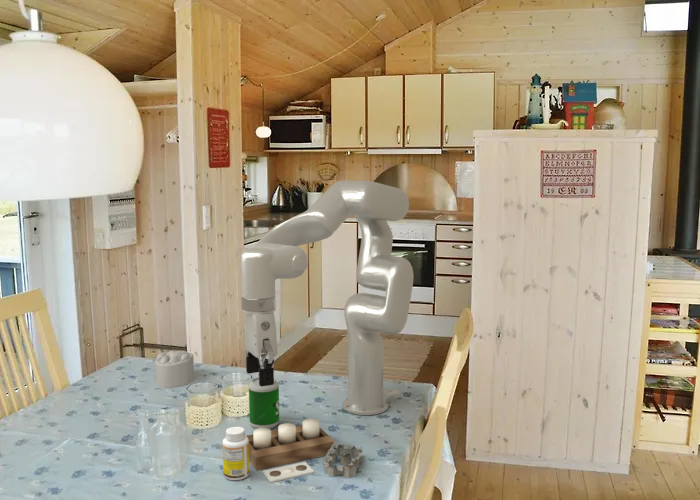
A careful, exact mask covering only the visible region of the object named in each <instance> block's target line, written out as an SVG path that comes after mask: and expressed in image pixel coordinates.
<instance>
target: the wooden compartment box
mask: <svg viewBox="0 0 700 500" xmlns="http://www.w3.org/2000/svg"><path fill="white" fill-rule="evenodd" d="M295 426H296V442H295V443H290V444H285V445H283V444H280V443H279V438H278V429H274V430H271V447H270V448H265V449H260V450H258V449H255V448H254V440H253V433H252V434H248V435H245V436H246V437H247V438H248V440H249V464H250V465H251V466H252V467H253V469H254V470H255V471H261V470H267V469H272V468H276V467H281V466H286V465H288V464H289V465H290V464H295V463H300V462H304V461H308V460H311V459H316V458H321V457H325V456H326V454H327V452H328V450H330V448H331V446H332V444H333V443H334V442H336V441H335V440H334V439H333V438H332V437H331V436H330V435H329V434H328V433H326V432H325V430H323V429H322V427H320V426H319V429H320V437H319V438H315V439H310V440H306V439H304V438H303V427H302V424H300V425H295Z"/></svg>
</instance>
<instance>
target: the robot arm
mask: <svg viewBox="0 0 700 500" xmlns="http://www.w3.org/2000/svg"><path fill="white" fill-rule="evenodd" d="M409 208H410V200H409V197H408V195H407V194H406V192H405V191H404V190H403V189H401V188H398V187H395V186H391V185H389V184H387V185H386V184H383V183H380V182H377V181H372V180H361V179H360V180H359V179H358V180H356V179H354V180H353V179H343V180H338V181H336V182H335V183H333V184H332V185H331V186H330V187H329V188H328V189H326V191H325V192H324V193H322V195H320V197H319V198H318V199H316V201H315V202H313V204H312V205H311V206H310V207H309V208H308V209H307V210H305V211H303V212H302V213H299V214H297V215H295V216H293V217H291V218H289V219H287V220H286V221H282V222H281V223H279V224H278V225H275V226H273V228H271V229H270V230H269V231H268V232H266V234H264V235H263V236H262V237H261V238H260V239H259V240H258V241H257V243H256V244H255V245H254V247H252V248H245V249H244V250H242V251H241V252H240V295H241V296H240V297H241V299H240V301H241V302H240V303H241V312H242V313H244V322H243V323H244V328H243V329H244V330H243V332H244V334H243V337H244V339H243V340H244V346H245V348H246V350H245V356H246V357H245V366H246V367H245V368H246V374H247V375H248V374H254V373H255V374H256V373H258V378H259V385H260V386H261V387H262V386H268V385H273V384H274V379H275V375H274V374H275V373H274V372H275V370H274V368H275V364H274V363H275V359H274V357H276V356H277V355H278V340H277V337H278V336H277V326H276V325H277V324H276V316H275V313H274V312H275V311H276V308H277V307H276V305H277V304H276V280H277V279H279V280H280V279H286V280H287V279H289V280H290V279H296V278H298V277H300V276H301V275H303V274H304V273H305V272H306V270H307V268H308V265H309V258H308V257H309V256H308V255H307V253H306V252H305V251H304V249H302V248H301V247H299V246H302V245H305V244H312V243H316V242H320V241H323V240H326V239H328V238H330V237H331V236H332V235H333V234H334V233H335V232H337V230H338V229H339V228H340V227H341V226H342V224H343V223H345V221H346V220H348V218H349V217H350V216H352V215H353V216H354V217H355V219H356V221H357V223H358V225H359V228H360V231H361V239H360V248H359V255H358V260H357V266H356V272H355V273H356V274H355V275H356V276H355V278H356V282H357V283H358V285H360V286H361V287H363V288H366V289H369V290H375V291H383V292H385V296H384V295H379V294H374V293H373V294H372V293H367V292H365V293H364V292H363V293H362V292H360V293H359V292H358V293H354V294H353V295H351V296H350V297H348V298H347V300H346V301H345V305H344V320H345V325H346V331H347V341H348V342H347V346H348V347H347V351H348V352H347V353H348V354H347V356H348V357H347V376H348V377H347V388H348V389H347V394H348V395H347V398H345V399H344V400H343V401H342V409H343V410H345V412H348V413H350V414H353V415H357V416H358V415H359V416H360V415H361V416H373V415H378V414H383V413H384V412H386V411H387V410H388V409H389V402H388V400H389V399H390V398H397V397H399V394H400V393H399V390H398V389H392V390H390V388H385V389H384V342H383V338H382V336H381V333H382V334H385V335H386V334H387V335H397V334H400V333H401V332H402V331H403V330H404V328H405V326H406V325H407V321H408V317H409V316H408V315H409V310H410V304H411V299H412V298H411V297H412V292H413V286H414V285H413V284H414V270H413V265H411V262H410V261H409V260H408V259H407V258H405V257H403V256H402V257H401V256H396V255H392V252H393V251H392V250H393V249H392V248H393V241H394V236H393V233H392V232H393V231H392V229H391V227H390V224H389V222H398V221H401V220H402V219H404V218H405V217H406V215H407V213H408V212H409V210H410V209H409ZM387 221H389V222H387Z"/></svg>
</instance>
